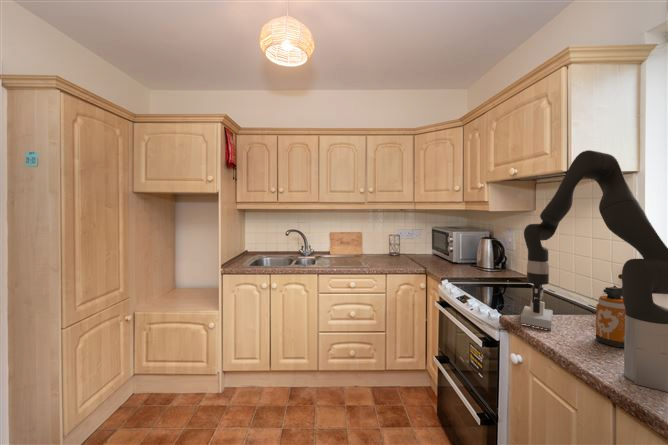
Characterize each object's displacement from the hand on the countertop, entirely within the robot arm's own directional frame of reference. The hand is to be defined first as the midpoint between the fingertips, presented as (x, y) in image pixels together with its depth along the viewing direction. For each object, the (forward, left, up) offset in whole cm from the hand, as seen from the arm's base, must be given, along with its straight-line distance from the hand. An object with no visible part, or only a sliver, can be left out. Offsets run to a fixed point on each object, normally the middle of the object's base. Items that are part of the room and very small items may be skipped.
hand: (537, 310), depth 124 cm
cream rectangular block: (0, 0, -4) cm, 4 cm away
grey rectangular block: (0, 0, -5) cm, 5 cm away
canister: (-7, -23, -5) cm, 25 cm away
